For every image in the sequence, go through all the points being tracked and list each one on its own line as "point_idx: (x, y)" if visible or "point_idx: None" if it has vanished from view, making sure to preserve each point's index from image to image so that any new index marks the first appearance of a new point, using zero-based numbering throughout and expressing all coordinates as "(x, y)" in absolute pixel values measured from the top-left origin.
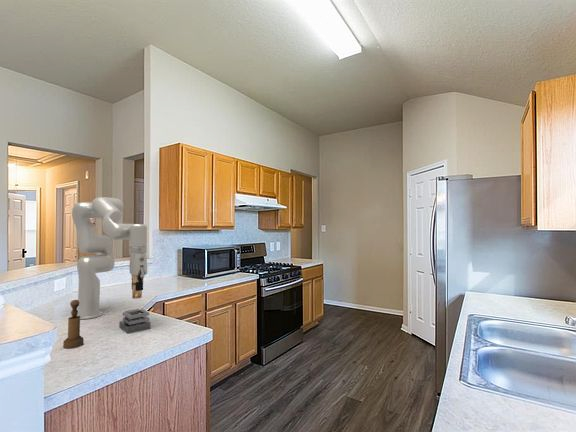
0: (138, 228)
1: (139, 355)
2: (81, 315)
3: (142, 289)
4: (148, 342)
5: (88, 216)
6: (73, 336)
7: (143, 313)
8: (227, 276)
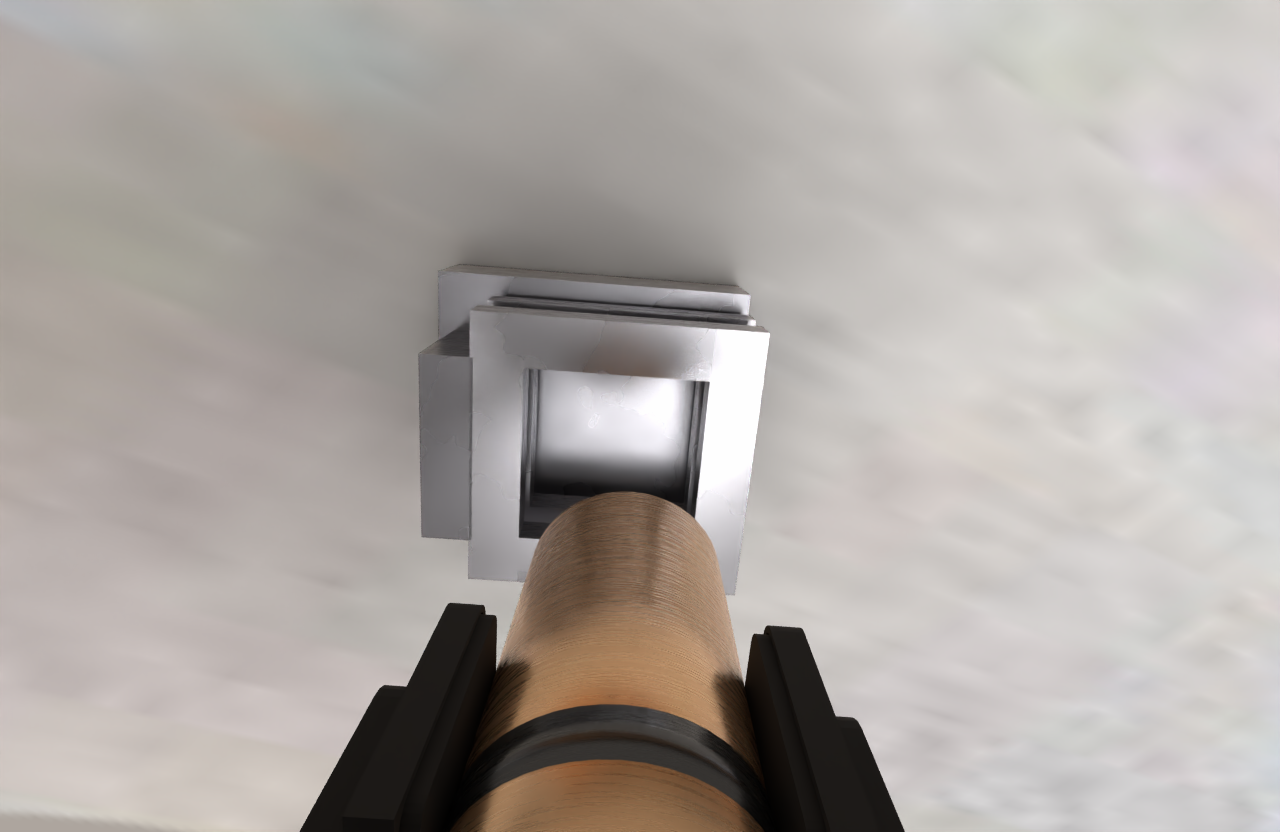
0: None
1: (1270, 644)
2: None
3: (799, 643)
4: (1094, 485)
5: None
6: None
7: (738, 411)
8: None
